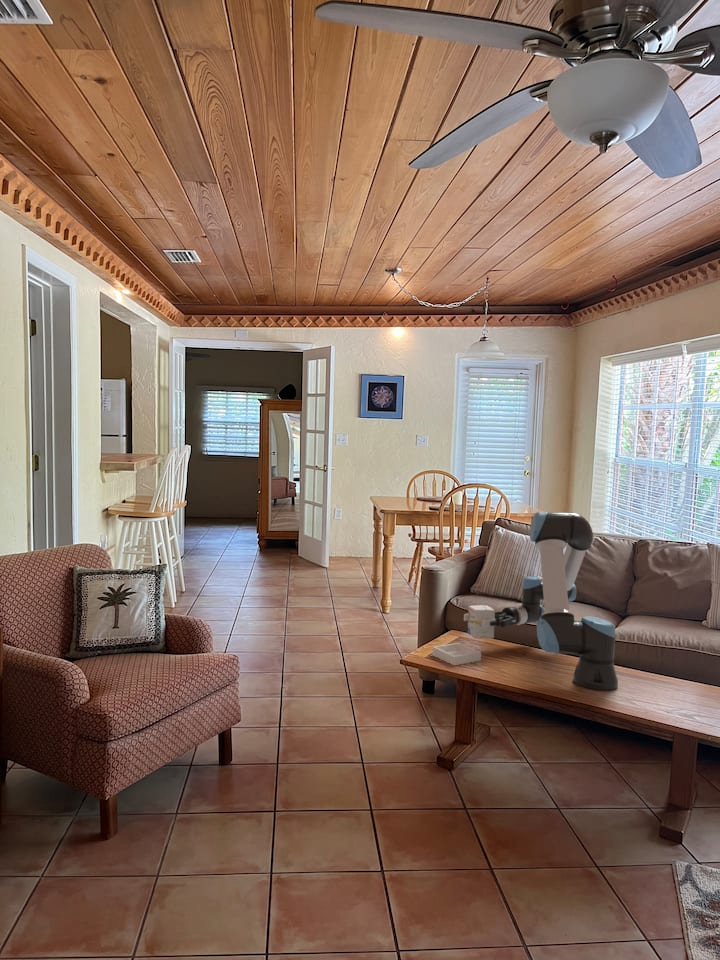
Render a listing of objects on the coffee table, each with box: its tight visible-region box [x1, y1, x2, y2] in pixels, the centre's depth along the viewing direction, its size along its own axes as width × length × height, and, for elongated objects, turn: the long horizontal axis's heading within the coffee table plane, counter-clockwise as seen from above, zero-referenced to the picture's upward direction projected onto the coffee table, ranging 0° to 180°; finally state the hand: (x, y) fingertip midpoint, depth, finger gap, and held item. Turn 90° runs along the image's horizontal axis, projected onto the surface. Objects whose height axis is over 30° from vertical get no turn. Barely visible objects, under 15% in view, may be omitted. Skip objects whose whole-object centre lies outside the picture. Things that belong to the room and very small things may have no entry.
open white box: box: [432, 642, 482, 666], centre depth 259 cm, size 13×14×4 cm
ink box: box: [467, 604, 496, 639], centre depth 267 cm, size 9×8×12 cm
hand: (473, 620), depth 265 cm, fingers closed on ink box, 10 cm apart
